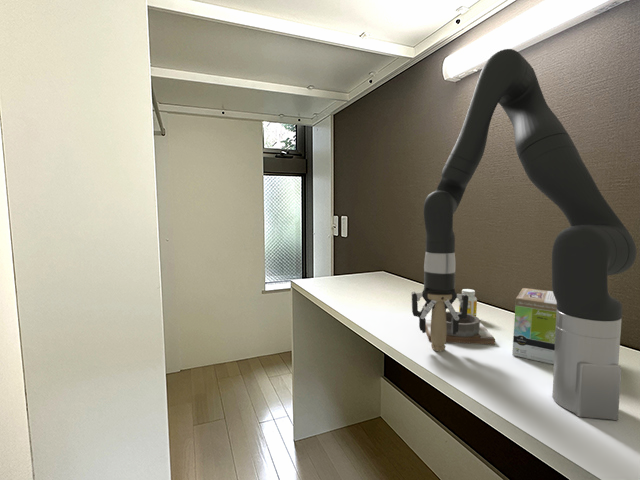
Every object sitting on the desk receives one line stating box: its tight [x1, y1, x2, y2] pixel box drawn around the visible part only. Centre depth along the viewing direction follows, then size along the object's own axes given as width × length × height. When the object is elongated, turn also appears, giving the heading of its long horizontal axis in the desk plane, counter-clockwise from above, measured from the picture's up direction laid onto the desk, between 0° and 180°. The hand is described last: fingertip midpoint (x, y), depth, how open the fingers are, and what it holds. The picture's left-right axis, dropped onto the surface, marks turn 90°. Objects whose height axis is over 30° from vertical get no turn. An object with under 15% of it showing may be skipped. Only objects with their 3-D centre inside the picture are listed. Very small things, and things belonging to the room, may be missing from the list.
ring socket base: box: [426, 310, 496, 345], centre depth 98 cm, size 13×17×5 cm
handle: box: [428, 294, 452, 352], centre depth 87 cm, size 5×6×15 cm
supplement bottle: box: [458, 288, 478, 317], centre depth 112 cm, size 5×5×10 cm
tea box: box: [512, 287, 557, 365], centre depth 86 cm, size 15×10×15 cm
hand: (438, 332), depth 87 cm, fingers open, 7 cm apart
